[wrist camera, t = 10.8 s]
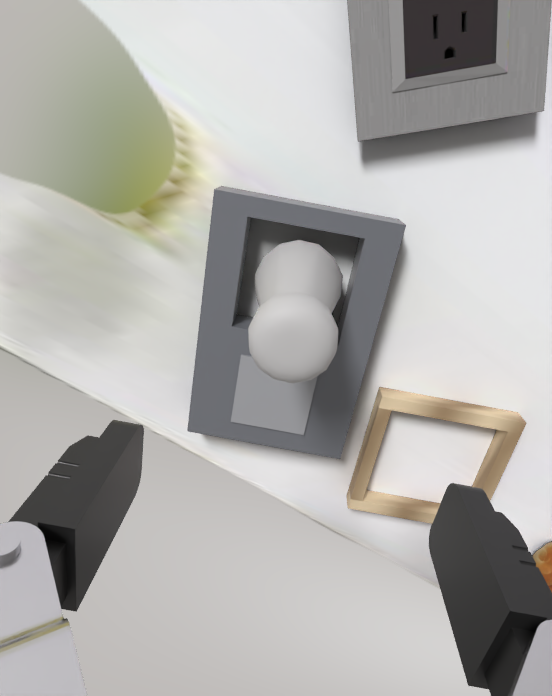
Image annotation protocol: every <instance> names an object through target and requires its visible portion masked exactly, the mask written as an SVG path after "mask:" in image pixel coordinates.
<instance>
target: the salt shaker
mask: <svg viewBox="0 0 552 696" xmlns="http://www.w3.org/2000/svg"><path fill="white" fill-rule="evenodd" d="M342 278H343V276H342V273H341V271H340V269H339V267H338V265H337V263H336V260H335V258H334V257H333V256H332V255H330V254H329V253H328V252H327V251H326V250H325V249H324V248H322V247H321V246H320V245H319V244H315V243H311V242H306V241H302V240H296V241H291V242H286V243H282V244H279V245H278V246H276V247H275V248H274V249H273V250H271V251H270V252H269V253H268V254H266V255H265V256H264V257H263V259H262V261H261V263H260V265H259V267H258V269H257V271H256V274H255V294H256V297H257V301H258V305H259V308H258V310H257V311H256V313H255V315H254V317H253V319H252V321H251V323H250V325H249V328H248V334H249V351H250V354H251V355H252V357H253V359H254V361H255V363H256V365H257V367H258V368H259V369H260V370H262V371H263V372H264V373H266V374H267V375H269V376H270V377H271V378H273V379H275V380H279V381H284V382H288V383H298V382H303V381H309V380H312V379H313V378H315V377H316V376H318V375H319V374H321V373H323V372H324V371H326V370H327V368H328V366H329V365H330V363H331V361H332V360H333V358H334V356H335V354H336V351H337V345H338V327H337V325H336V322H335V320H334V318H333V316H332V312H333V310H334V308H335V306H336V304H337V302H338V300H339V298H340V296H341V290H342Z"/></svg>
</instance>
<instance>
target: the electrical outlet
mask: <svg viewBox="0 0 552 696" xmlns="http://www.w3.org/2000/svg"><path fill="white" fill-rule="evenodd" d="M347 3H348V16H349V30H350V43H351V57H352V70H353V84H354V97H355V110H356V124H357V137H358V141H365V140H371V139H377V138H383V137H389V136H395V135H401V134H407V133H413V132H420V131H426V130H432V129H438V128H444V127H450V126H456V125H462V124H469V123H475V122H481V121H487V120H493V119H499V118H505V117H511V116H517V115H524V114H530V113H536V112H542V111H544V103H545V89H546V74H547V60H548V46H549V31H550V17H551V3H552V0H347Z"/></svg>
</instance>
